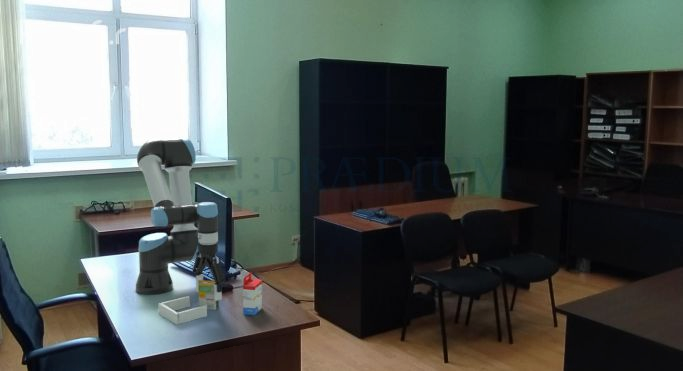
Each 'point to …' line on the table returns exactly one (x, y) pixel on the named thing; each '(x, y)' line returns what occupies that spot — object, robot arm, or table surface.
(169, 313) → the tray
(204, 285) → the crayon box
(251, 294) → the ink box
